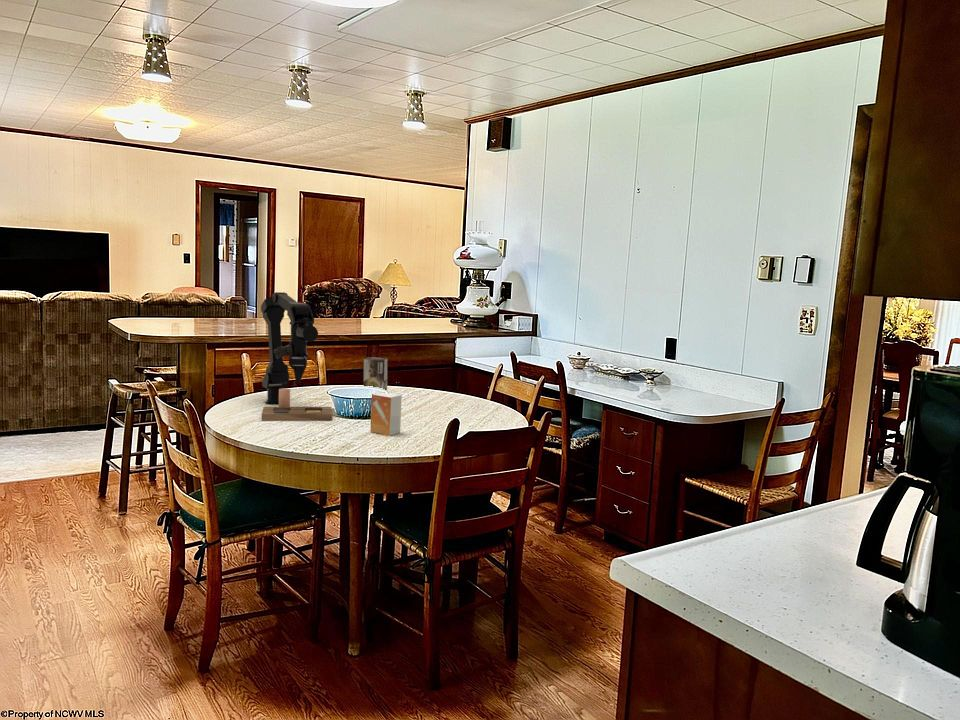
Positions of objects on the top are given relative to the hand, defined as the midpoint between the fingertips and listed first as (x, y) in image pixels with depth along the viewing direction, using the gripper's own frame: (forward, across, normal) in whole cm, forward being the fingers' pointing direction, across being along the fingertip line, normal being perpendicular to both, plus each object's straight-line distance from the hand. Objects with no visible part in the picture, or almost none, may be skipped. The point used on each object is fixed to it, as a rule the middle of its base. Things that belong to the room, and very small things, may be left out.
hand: (297, 381), depth 268 cm
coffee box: (+12, -35, +31) cm, 48 cm away
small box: (+12, +30, +29) cm, 44 cm away
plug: (+12, -5, -5) cm, 14 cm away
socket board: (+12, +6, 0) cm, 13 cm away
